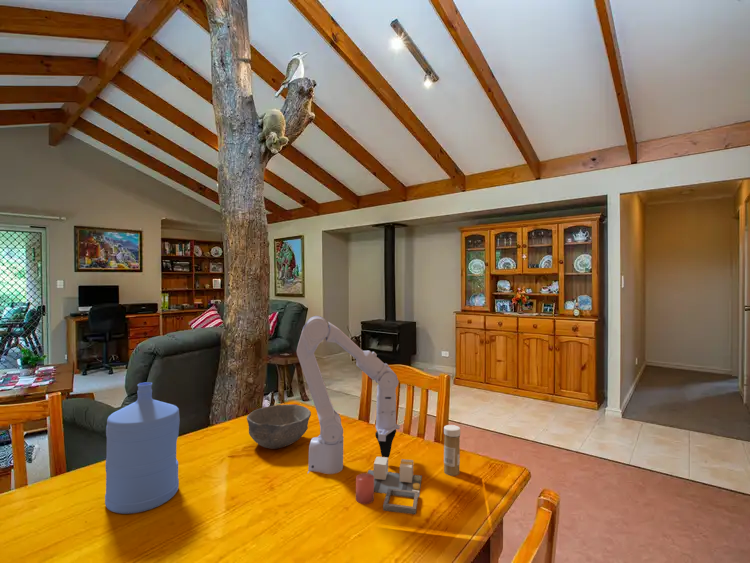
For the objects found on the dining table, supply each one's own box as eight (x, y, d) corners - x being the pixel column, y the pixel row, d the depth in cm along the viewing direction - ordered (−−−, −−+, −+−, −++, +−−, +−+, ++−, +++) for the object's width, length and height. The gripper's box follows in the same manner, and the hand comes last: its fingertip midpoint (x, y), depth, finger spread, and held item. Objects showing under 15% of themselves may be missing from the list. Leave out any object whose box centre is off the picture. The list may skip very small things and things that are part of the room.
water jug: (147, 519, 88) (149, 394, 88) (87, 511, 91) (89, 390, 91) (191, 484, 103) (193, 378, 103) (139, 478, 106) (141, 374, 106)
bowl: (282, 427, 144) (282, 400, 144) (323, 441, 132) (323, 411, 132) (232, 445, 127) (233, 415, 127) (274, 464, 115) (275, 430, 115)
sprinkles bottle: (463, 476, 110) (463, 428, 110) (451, 480, 107) (452, 431, 107) (451, 469, 114) (452, 423, 114) (439, 473, 111) (440, 426, 111)
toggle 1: (373, 478, 105) (373, 463, 105) (376, 470, 110) (376, 456, 110) (385, 479, 105) (385, 464, 105) (387, 472, 109) (388, 457, 109)
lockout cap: (353, 506, 95) (354, 481, 95) (358, 496, 99) (358, 472, 99) (371, 508, 94) (372, 483, 94) (375, 498, 98) (375, 474, 98)
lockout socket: (383, 513, 92) (383, 505, 92) (388, 496, 99) (388, 488, 99) (415, 517, 90) (415, 509, 90) (418, 499, 98) (418, 491, 98)
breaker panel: (359, 493, 100) (360, 486, 100) (368, 472, 111) (368, 466, 111) (418, 500, 97) (419, 493, 97) (422, 478, 108) (422, 472, 108)
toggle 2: (399, 481, 104) (399, 465, 104) (401, 473, 108) (401, 458, 108) (411, 482, 103) (411, 466, 103) (413, 474, 108) (413, 459, 108)
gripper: (396, 419, 107) (395, 469, 107) (402, 403, 121) (402, 447, 121) (371, 417, 108) (370, 466, 108) (380, 401, 122) (379, 445, 122)
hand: (385, 456), depth 115 cm, fingers closed
